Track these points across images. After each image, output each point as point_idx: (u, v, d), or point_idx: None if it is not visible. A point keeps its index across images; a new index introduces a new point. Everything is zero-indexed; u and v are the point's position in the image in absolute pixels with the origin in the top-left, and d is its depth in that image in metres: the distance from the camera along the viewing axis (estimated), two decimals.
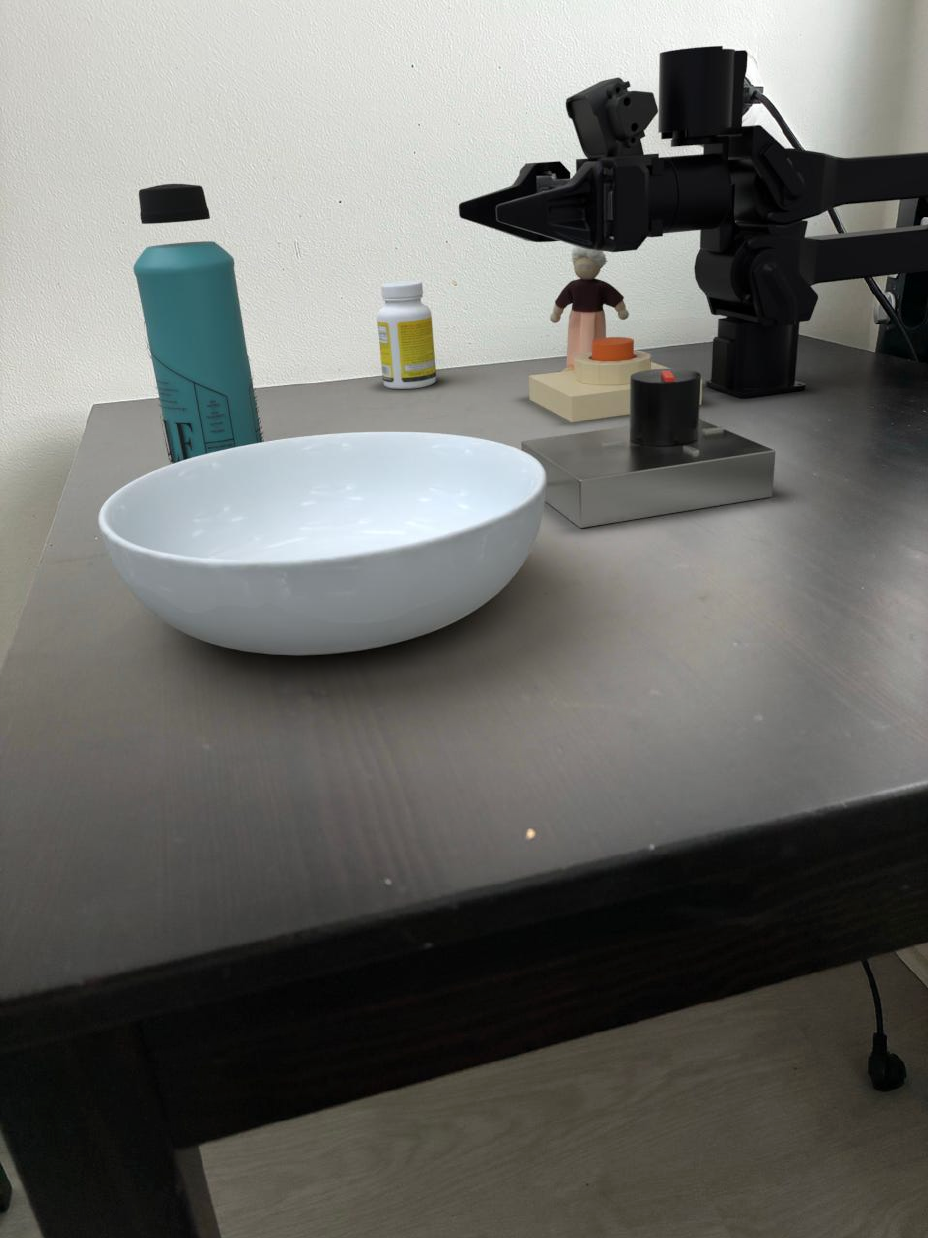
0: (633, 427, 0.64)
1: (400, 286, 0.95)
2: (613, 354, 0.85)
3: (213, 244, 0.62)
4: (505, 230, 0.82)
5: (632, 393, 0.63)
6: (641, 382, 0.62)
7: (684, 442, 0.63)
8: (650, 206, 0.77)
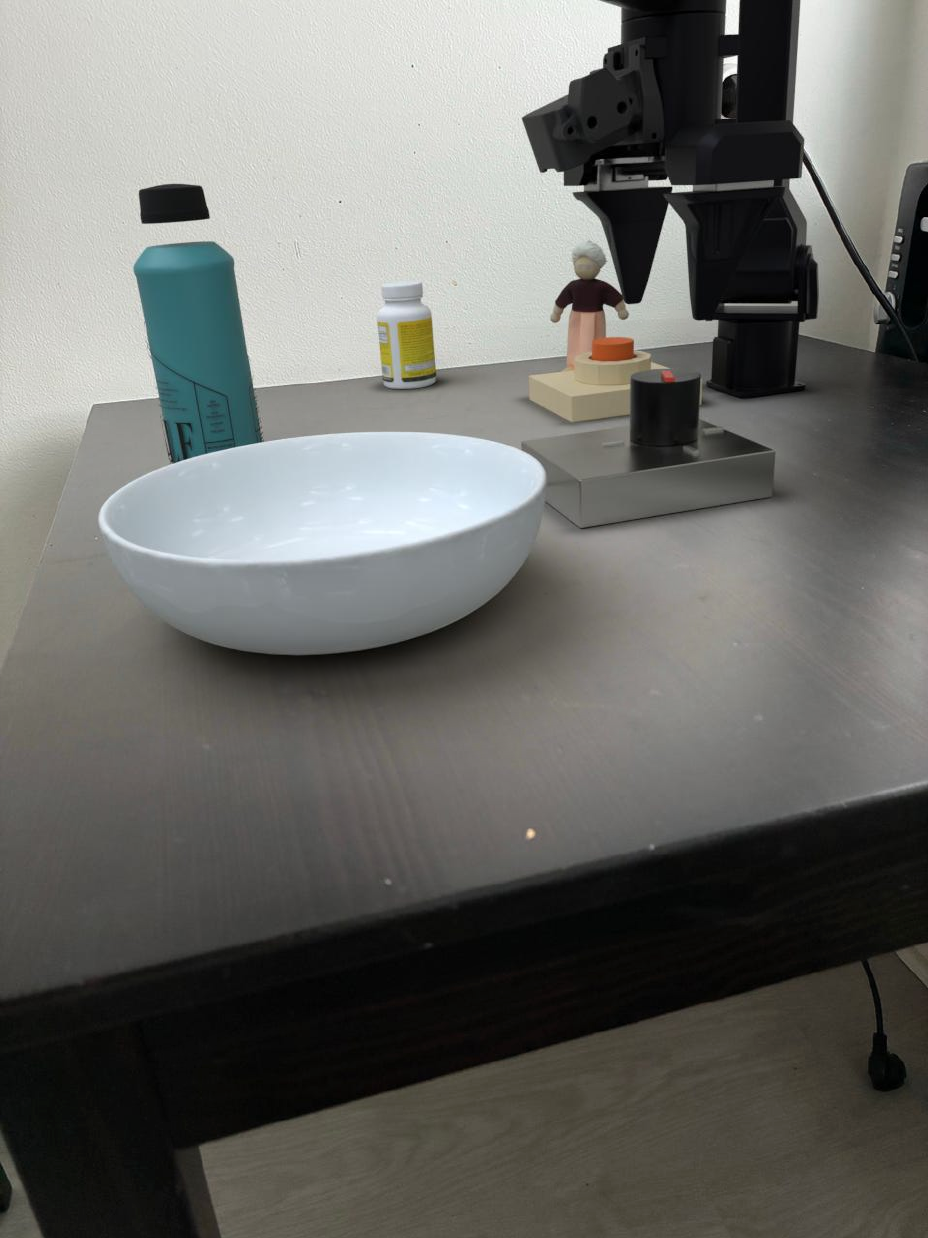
0: (633, 427, 0.64)
1: (400, 286, 0.95)
2: (613, 354, 0.85)
3: (213, 244, 0.62)
4: (658, 238, 0.65)
5: (632, 393, 0.63)
6: (641, 382, 0.62)
7: (684, 442, 0.63)
8: (706, 61, 0.54)
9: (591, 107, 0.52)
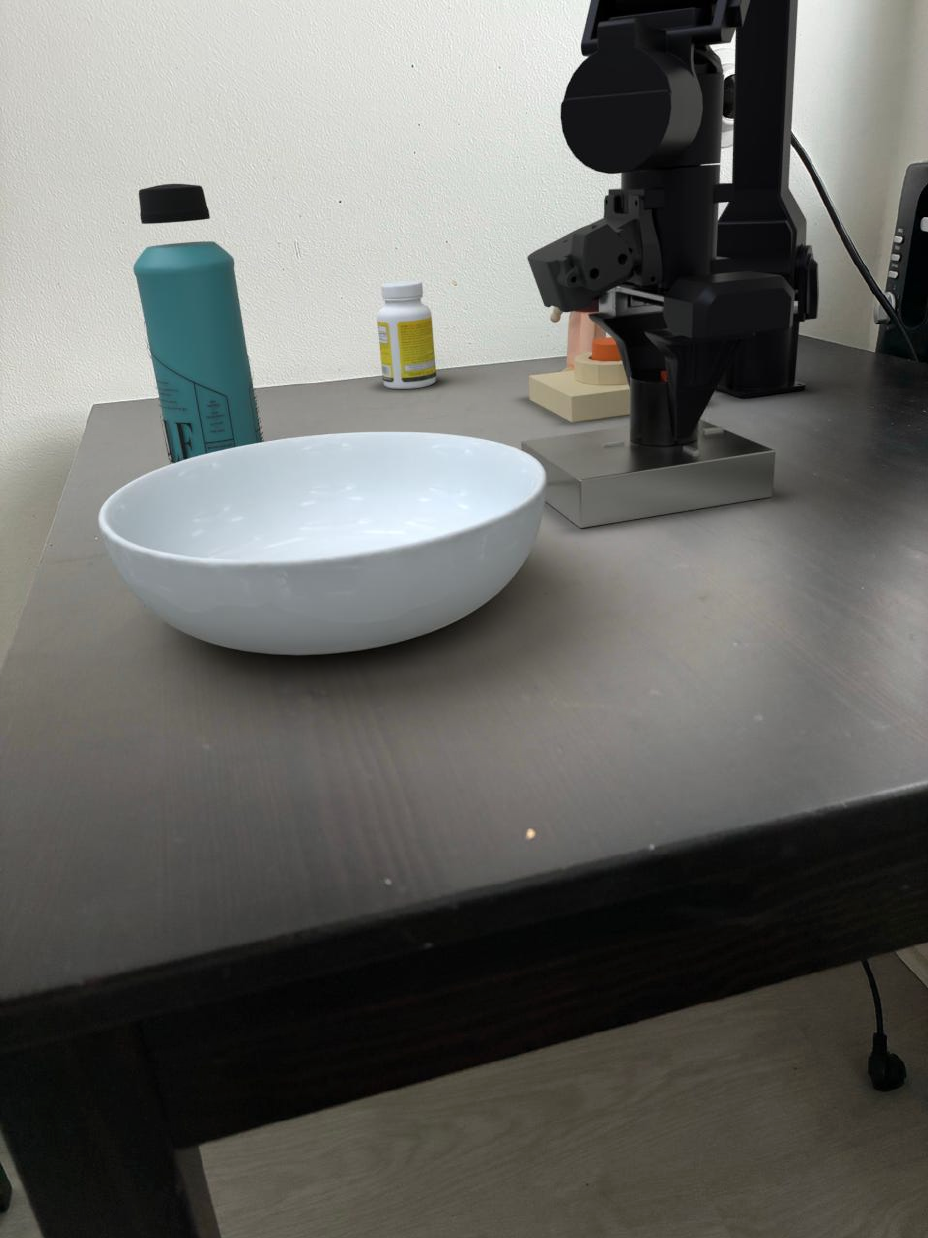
0: (633, 427, 0.64)
1: (400, 286, 0.95)
2: (613, 354, 0.85)
3: (213, 244, 0.62)
4: None
5: (632, 393, 0.63)
6: (641, 382, 0.62)
7: (684, 442, 0.63)
8: (701, 210, 0.57)
9: (593, 260, 0.55)
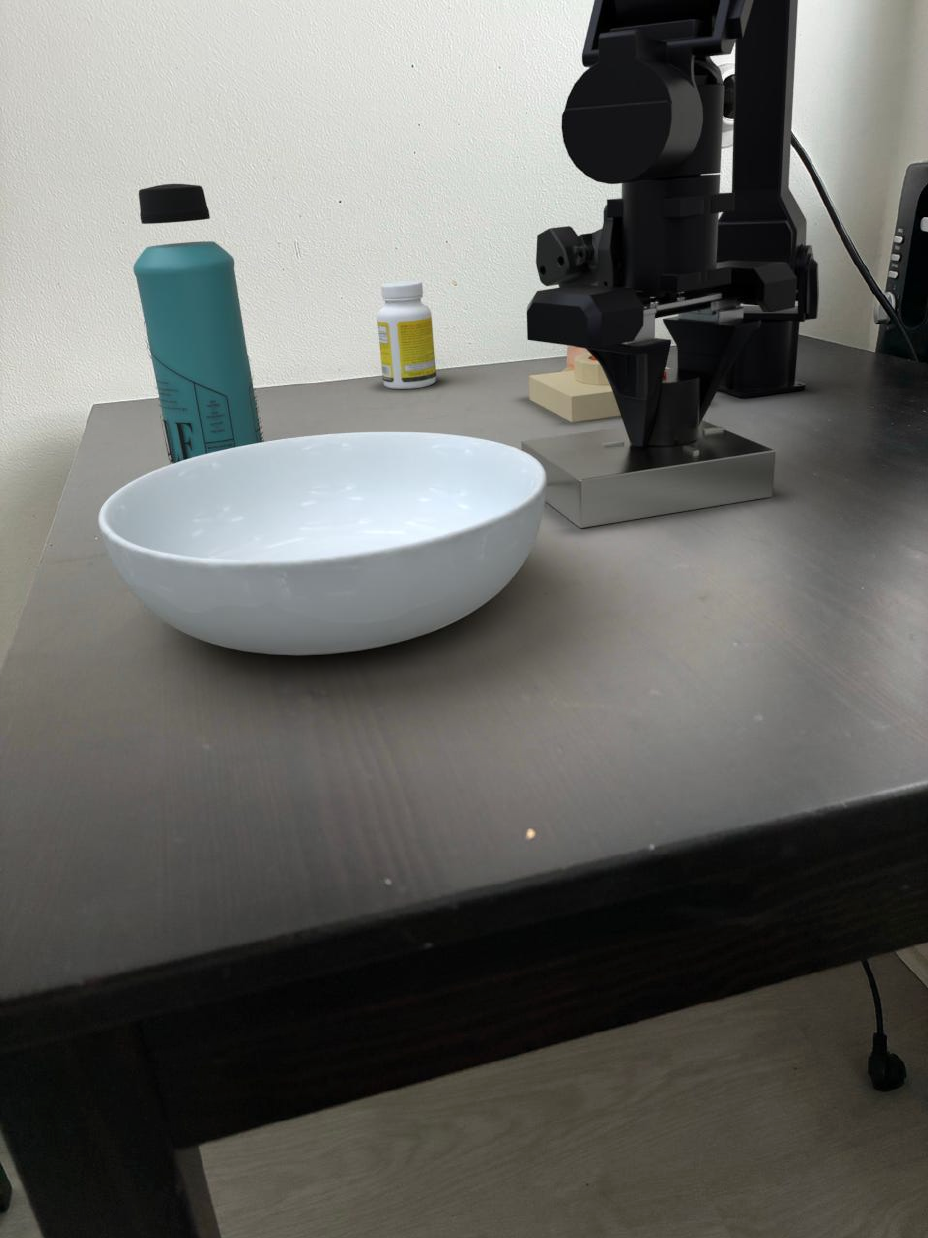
0: None
1: (400, 286, 0.95)
2: None
3: (213, 244, 0.62)
4: (714, 374, 0.63)
5: None
6: None
7: None
8: (644, 223, 0.58)
9: (541, 259, 0.63)
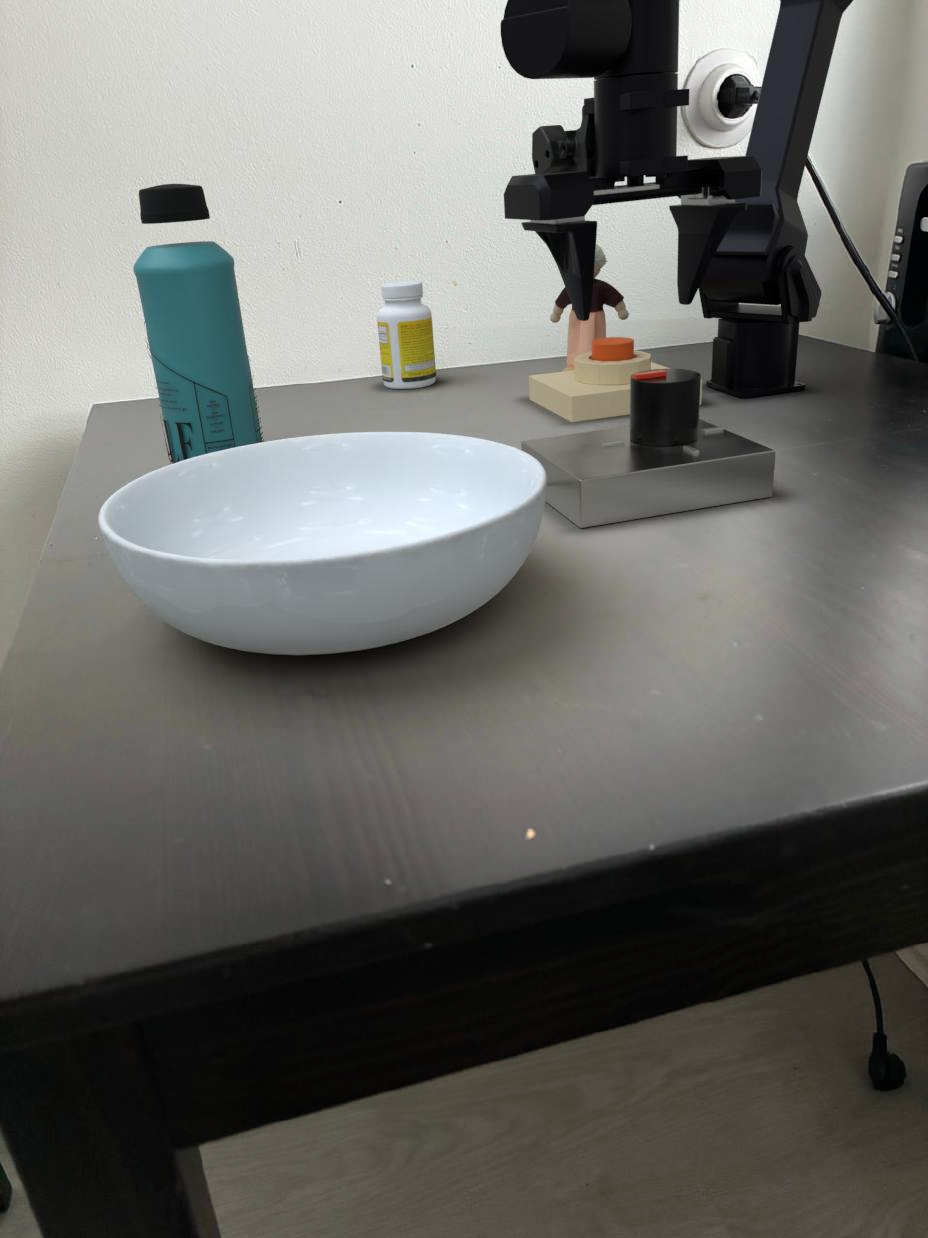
0: None
1: (400, 286, 0.95)
2: (613, 354, 0.85)
3: (213, 244, 0.62)
4: (703, 251, 0.74)
5: None
6: (633, 374, 0.65)
7: (643, 443, 0.64)
8: (606, 116, 0.68)
9: (535, 153, 0.74)
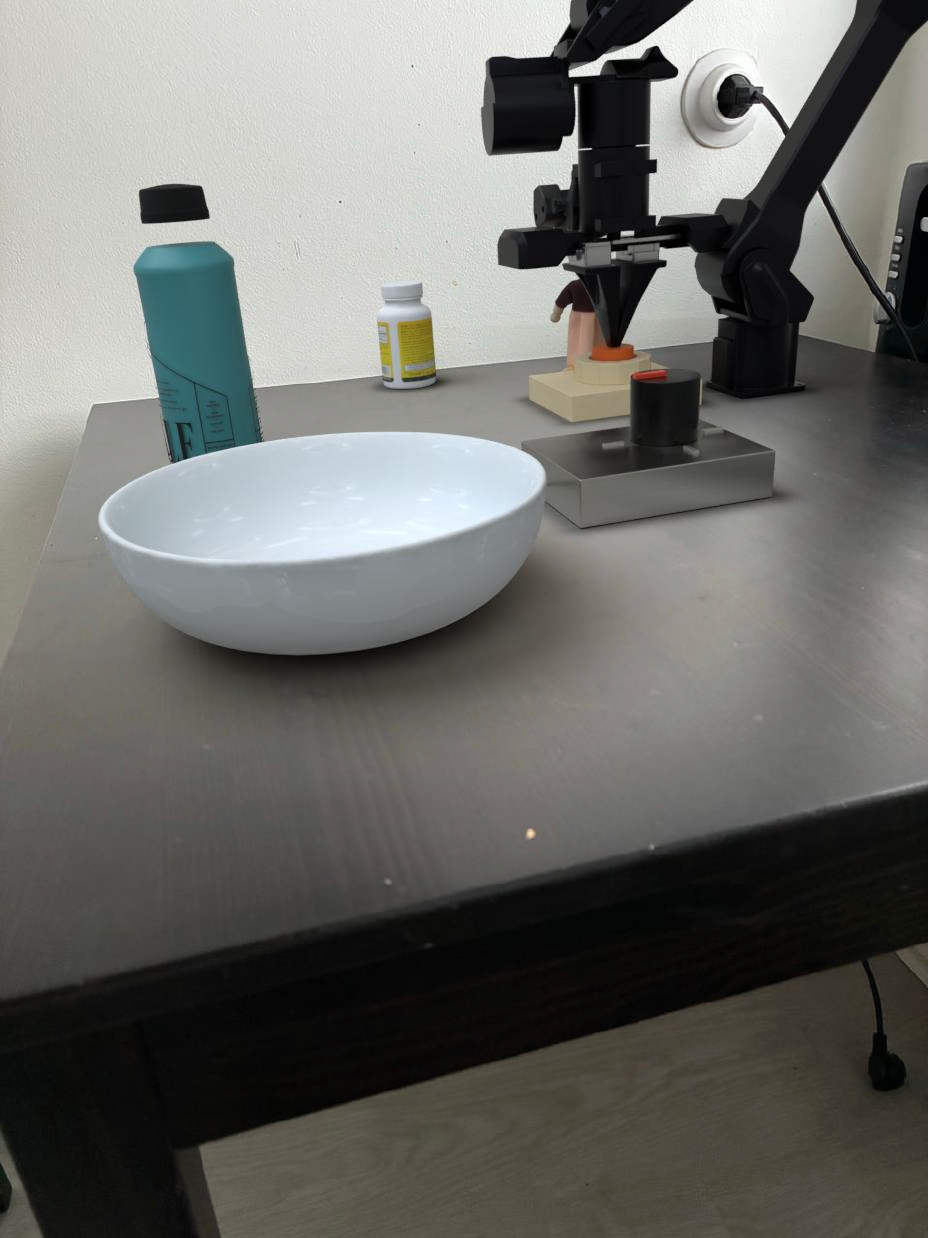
0: None
1: (400, 286, 0.95)
2: (613, 360, 0.85)
3: (213, 244, 0.62)
4: (626, 301, 0.83)
5: None
6: (633, 374, 0.65)
7: (643, 443, 0.64)
8: (584, 181, 0.79)
9: (535, 208, 0.86)
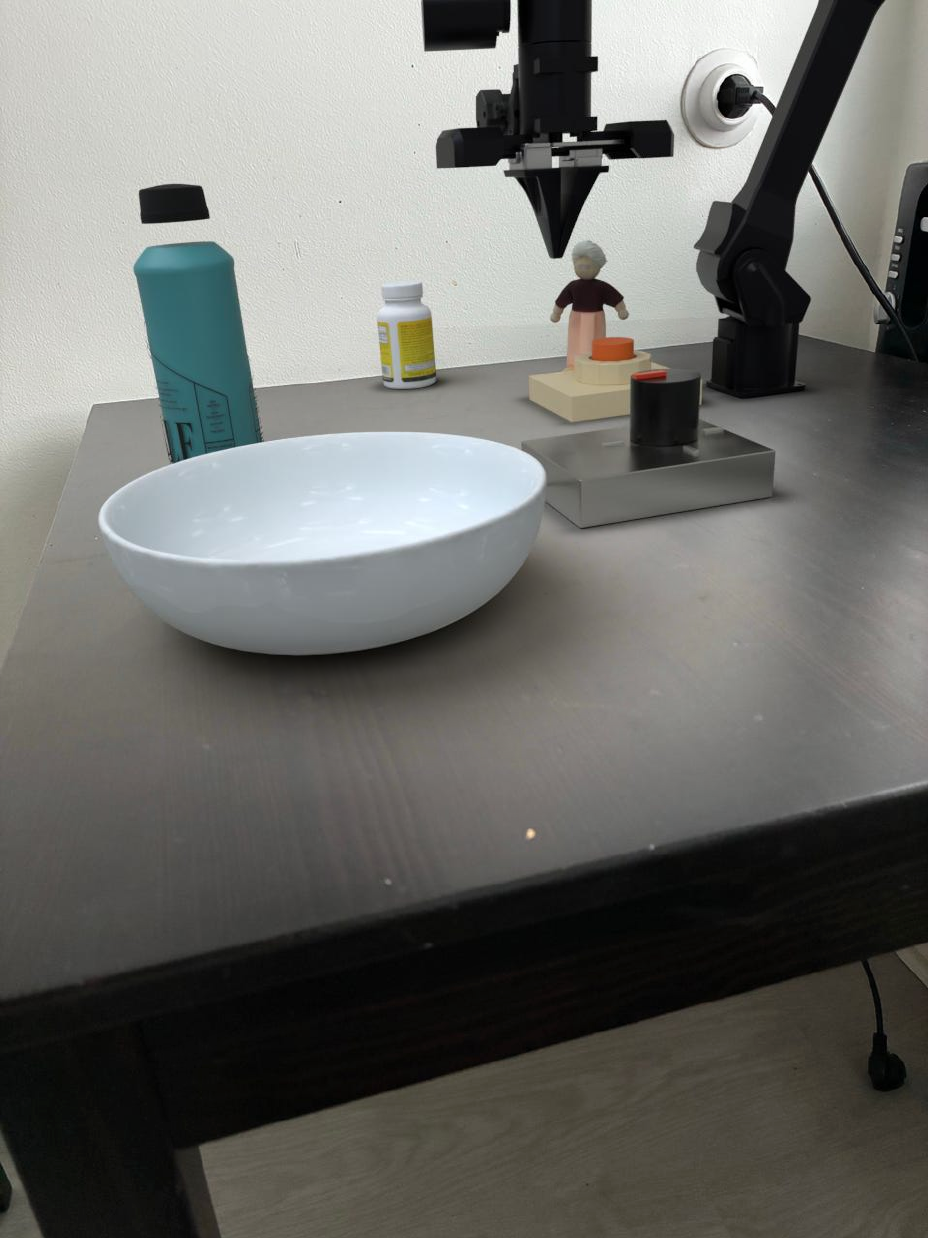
0: None
1: (400, 286, 0.95)
2: (613, 354, 0.85)
3: (213, 244, 0.62)
4: (568, 208, 0.81)
5: None
6: (633, 374, 0.65)
7: (643, 443, 0.64)
8: (524, 79, 0.77)
9: (477, 114, 0.84)
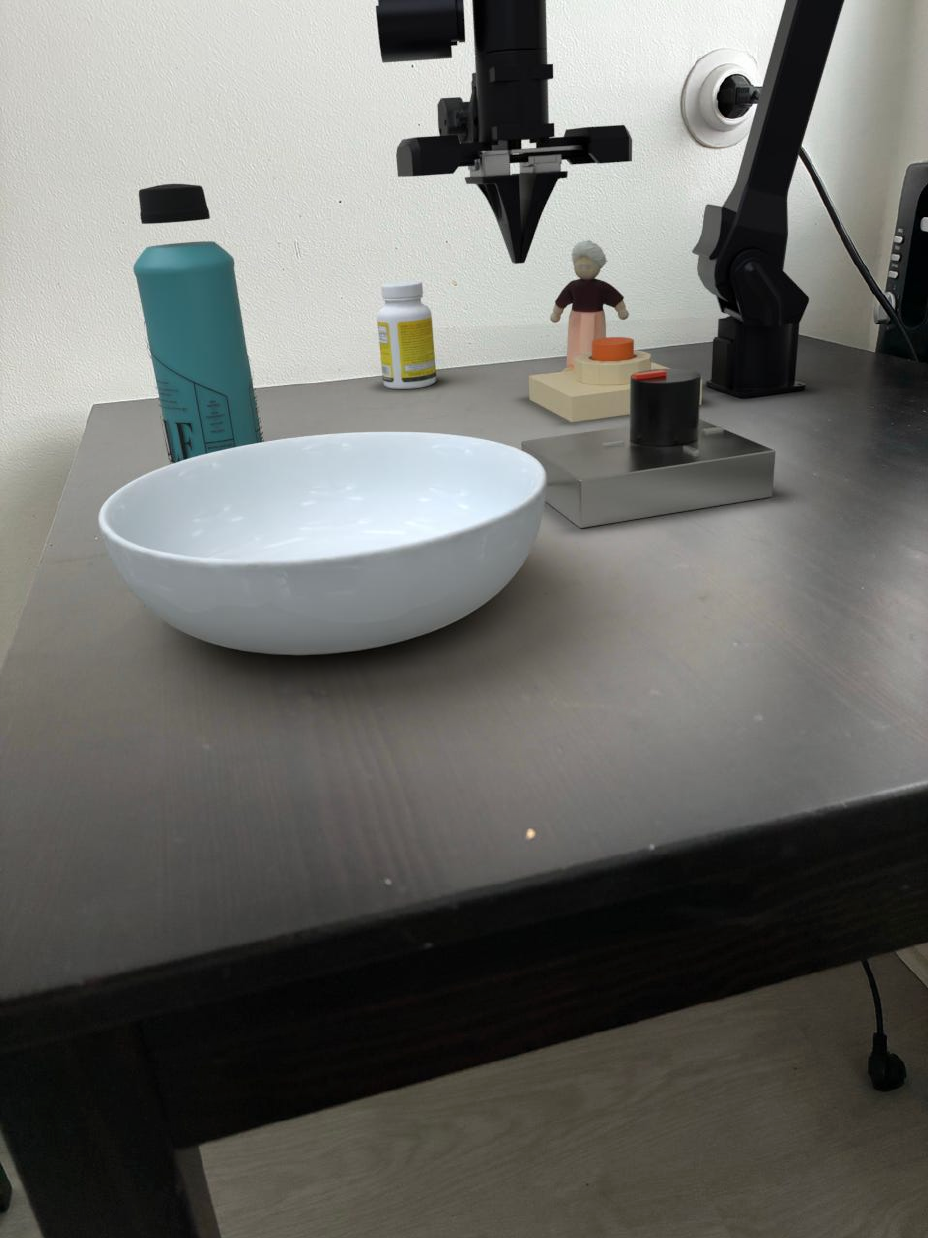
0: None
1: (400, 286, 0.95)
2: (613, 354, 0.85)
3: (213, 244, 0.62)
4: (528, 214, 0.82)
5: None
6: (633, 374, 0.65)
7: (643, 443, 0.64)
8: (481, 88, 0.78)
9: (439, 122, 0.85)
